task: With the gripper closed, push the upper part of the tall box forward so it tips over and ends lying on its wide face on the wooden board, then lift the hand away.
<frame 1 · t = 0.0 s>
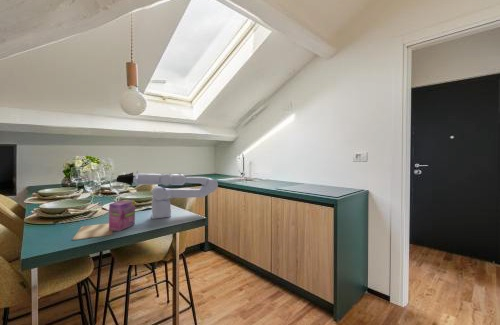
hand: (117, 178, 123), 22 cm above the table, tool horizontal, fingers open, 7 cm apart
box: (122, 227, 115), on the table, touching wooden board
wooden board: (96, 231, 110), on the table
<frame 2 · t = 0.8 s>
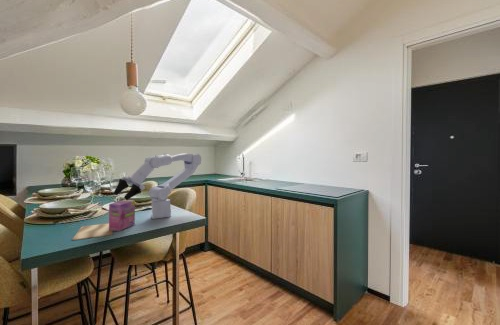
hand: (120, 196, 117), 14 cm above the table, tool tilted 50°, fingers open, 7 cm apart
nothing on the table moved.
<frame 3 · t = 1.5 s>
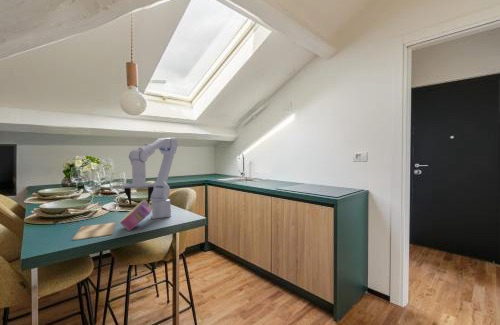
hand: (139, 203, 117), 10 cm above the table, tool pointing down, fingers open, 7 cm apart
box: (126, 223, 114), point 2 cm above the table, touching gripper
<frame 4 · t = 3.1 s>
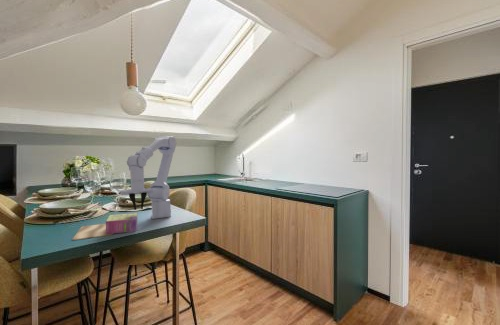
hand: (138, 209, 117), 8 cm above the table, tool pointing down, fingers closed
box: (107, 224, 109), point 3 cm above the table, touching wooden board
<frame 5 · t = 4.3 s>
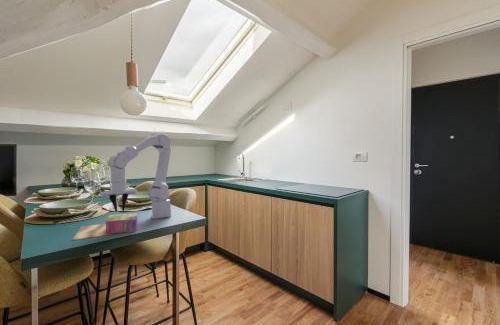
hand: (119, 210, 114), 8 cm above the table, tool pointing down, fingers closed
nothing on the table moved.
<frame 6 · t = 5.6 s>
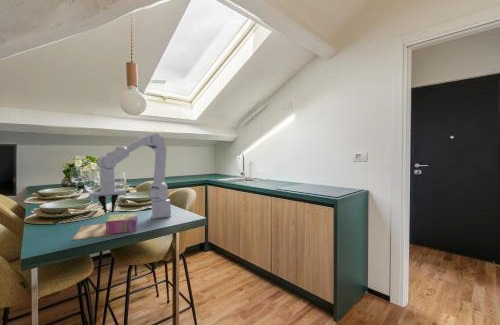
hand: (109, 212, 112), 8 cm above the table, tool pointing down, fingers closed
nothing on the table moved.
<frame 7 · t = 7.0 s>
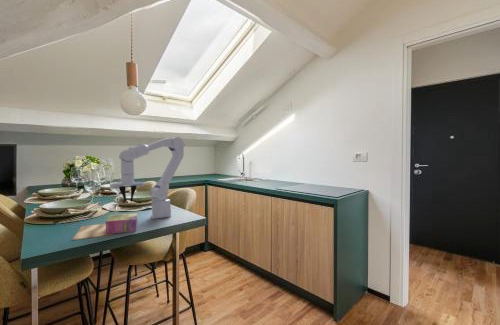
hand: (128, 201, 122), 10 cm above the table, tool pointing down, fingers closed
nothing on the table moved.
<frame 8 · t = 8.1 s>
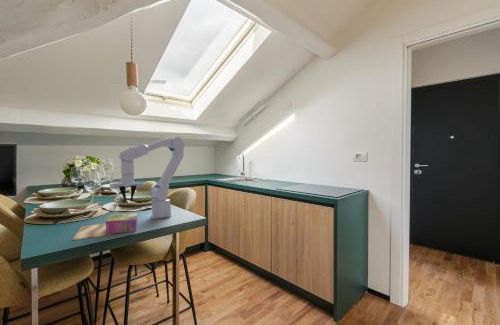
hand: (128, 201, 122), 10 cm above the table, tool pointing down, fingers closed
nothing on the table moved.
at the end: box tilted 92°; box touching wooden board, table; box inside the target area (3.2 cm from its centre), point 3.2 cm above the table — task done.
